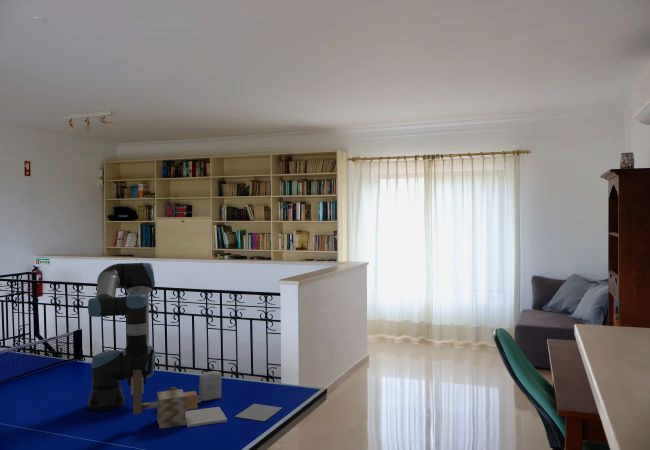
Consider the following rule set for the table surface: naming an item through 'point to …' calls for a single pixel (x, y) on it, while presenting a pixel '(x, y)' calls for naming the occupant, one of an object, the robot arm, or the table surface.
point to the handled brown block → (138, 395)
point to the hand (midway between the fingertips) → (137, 392)
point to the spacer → (191, 400)
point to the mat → (205, 417)
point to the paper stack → (258, 412)
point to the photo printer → (210, 385)
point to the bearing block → (171, 408)
